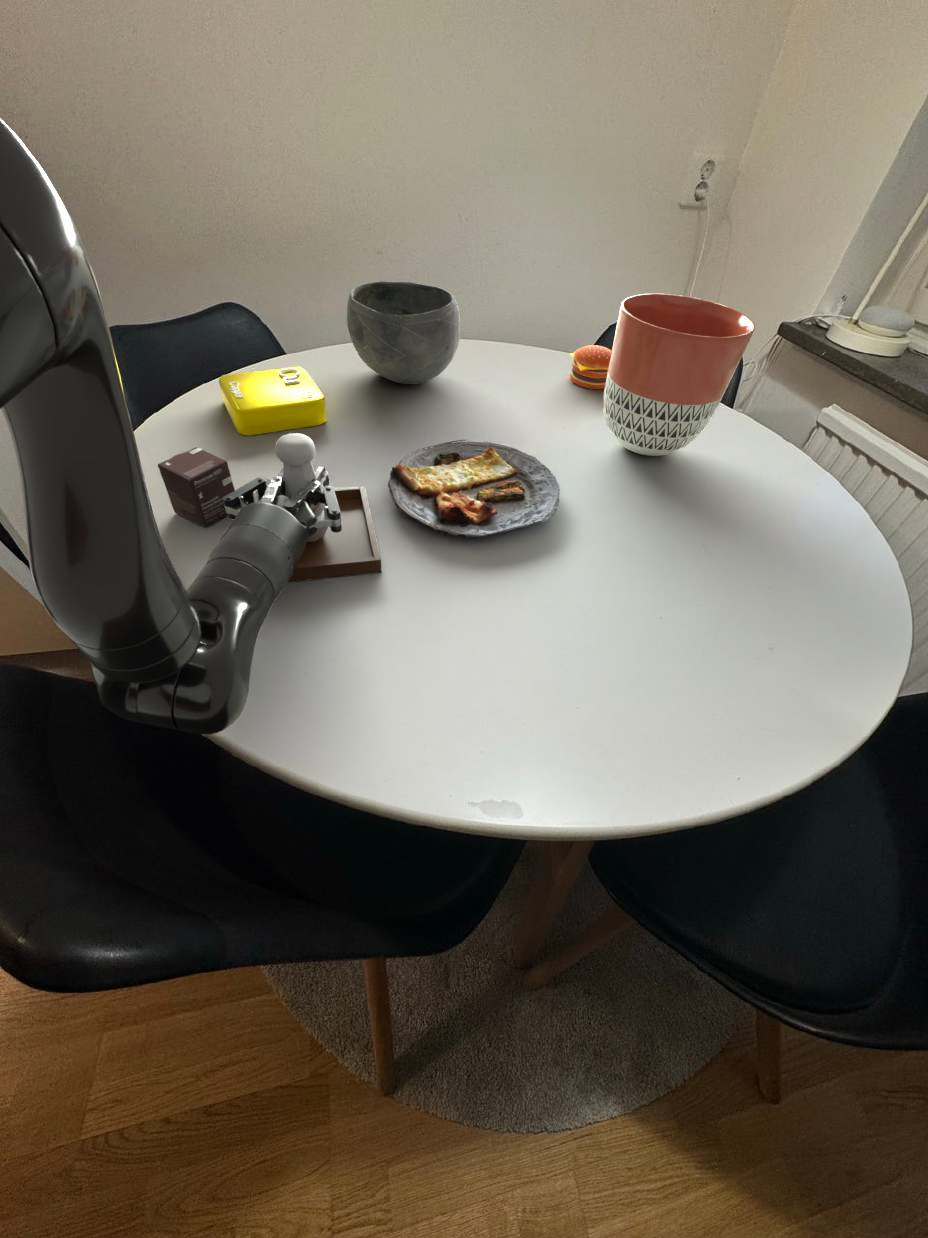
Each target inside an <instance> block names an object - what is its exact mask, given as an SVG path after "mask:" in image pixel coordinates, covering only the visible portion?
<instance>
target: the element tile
mask: <svg viewBox="0 0 928 1238" xmlns="http://www.w3.org/2000/svg"><path fill="white" fill-rule="evenodd" d="M218 384H219V388H220V393H221V397H222V400H223V403H224V406H225V408H226V410H227V413H228V415H229V417H230V419H231V421H232V424H233V426H234V428H235V430H236V431H237V433H239V434H240V435H243V436H257V435H263V434H270V433H276V432H284V431H291V430H296V429H302V428H310V427H317V426H321V425H323V424H325V423H326V422H327V420H328V417H327V409H326V408H327V407H326V399H325V395H324V394H323V392H322V391H321V389H320V388H319V387H318V385H317V384H316V383H315V381H314V380H313V379H312V377H311V376H310V375H309V373H308V372H307V370H305V369H304V368H302V367H301V366H292V367H282V368H271V369H264V370H255V371H247V372H237V373H229V374H228V373H227V374H222V375H221V376H220V377H219V378H218Z"/></svg>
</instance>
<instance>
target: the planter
mask: <svg viewBox="0 0 928 1238" xmlns="http://www.w3.org/2000/svg"><path fill="white" fill-rule="evenodd" d="M620 304H621V305H620V307H619V312H618V318H617V322H616V327H615V333H614V338H613V343H612V347H611V351H612V352H611V357H610V362H609V367H608V372H607V378H606V383H605V388H604V389H603V399H602V400H603V402H602V404H603V416H604V417H603V418H604V420H605V424H606V426H607V429H608V430H609V432H610V434H611V435H612V437H613V438H614V439H615V440H616V441H617V442H618V443H619V444H620V445H621V446H622V447H623V448H625V449H626V450H628V451H630V452H633V453H635V454H637V455H643V456H649V457H658V456H665V455H669V454H673V453H675V452H677V451H679V450H682V449H683V448H685V447H687V446H688V445H690V444H691V443H692V442H694V441H695V440H696V439H697V438H698V437H699V436H700V435H701V434H702V433H703V431H704V430H705V429H706V428H707V426H708V425H709V423H710V421H711V420H712V418H713V417H714V415H715V413H716V412H717V409H718V407H719V405H720V403H721V401H722V399H723V397H724V396H725V393H726V391H727V389H728V387H729V385H730V383H731V381H732V379H733V376H734V374H735V372H736V370H737V368H738V366H739V364H740V362H741V360H742V357H743V355H744V354H745V352H746V349H747V348H748V346H749V343H750V341H751V339H752V336H753V334H754V332H755V329H756V325H755V323H754V321H753V320H752V319H751V318H750V317H748V316H747V315H746V314H744V313H742V312H740V311H739V310H736V309H734V308H732V307H729V306H726V305H723V304H721V303H718V302H714V301H711V300H706V299H702V298H697V297H692V296H686V295H678V294H668V293H644V294H642V293H641V294H636V295H632V296H629V297H626V298H625V299H623V301H622V302H621V303H620Z"/></svg>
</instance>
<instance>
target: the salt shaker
mask: <svg viewBox="0 0 928 1238" xmlns="http://www.w3.org/2000/svg"><path fill="white" fill-rule="evenodd" d="M275 454H276V457H277V458H278V460H279V461H280V462H281V463H282V469H283V481H284V482H285V496H287V497H292V496H293V495H294V494H295V493H296V492H297V491H298V490H299V489H300V488H305V487H306V486H307V485H308V484H309V483H310V482H312V480H313V479H314V478H316V477H315V470H314V467H313V463H312V461H313V460H314V459H315V456H316V445H315V443H314V441H313V439H311V437H309V436H308V435H306V434H304V433H298V432H295V433H287V434H283V435H281V436H280V437H279V438H278V439H277V440H276V443H275ZM324 506H325V504H323V503H321V504H320V505H319V506H318V507H317V508H316V510H315V516H316V517H318V516H320V515H321V512H322V511H323V510H324ZM327 528H328V527H325V528H318V530H317V532H316V533H315V534H313V535H312V536H310V537H309V538H308V540H307V542H315V541H316V540H318V539H319V538H321V537H322V536H324V535H325V533H326V530H327Z"/></svg>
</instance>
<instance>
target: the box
mask: <svg viewBox="0 0 928 1238" xmlns="http://www.w3.org/2000/svg"><path fill="white" fill-rule="evenodd" d="M157 467H158V470H159V473H160V476H161V479H162V481H163V485H164V487H165V490H166V492H167V495H168V499H169V500H170V503H171V504H170V505H171V507H172V509H173V512H174V513H175V514H176V515H179V516H181V517H182V518H185V519H186V520H189V521H190V522H192V523H195V524H196V525H198V526H201V527H203V528H208V527H210V526H211V525H213V524H215V523H216V522H219V521H220V520H222V519H224V518H226V517H228V516H227V513H226V510H225V507H224V502H223V497H224V496H226V495H228V494H230V493H231V492H233V491H235V490H236V489H235V486H234V481H233V477H232V474H231V471H230V467H229V464H228V460H227V459H225V458H223V457H220V456H218V455H215V454H213V453H210V452H209V451H207V450H204V449H203V448H200V447H193V448H191V449H189V450H187V451H184V452H180V453H178V454H175V455H173V456H171V458H168V459H166V460H164V461H162V462H160V463H157Z"/></svg>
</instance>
